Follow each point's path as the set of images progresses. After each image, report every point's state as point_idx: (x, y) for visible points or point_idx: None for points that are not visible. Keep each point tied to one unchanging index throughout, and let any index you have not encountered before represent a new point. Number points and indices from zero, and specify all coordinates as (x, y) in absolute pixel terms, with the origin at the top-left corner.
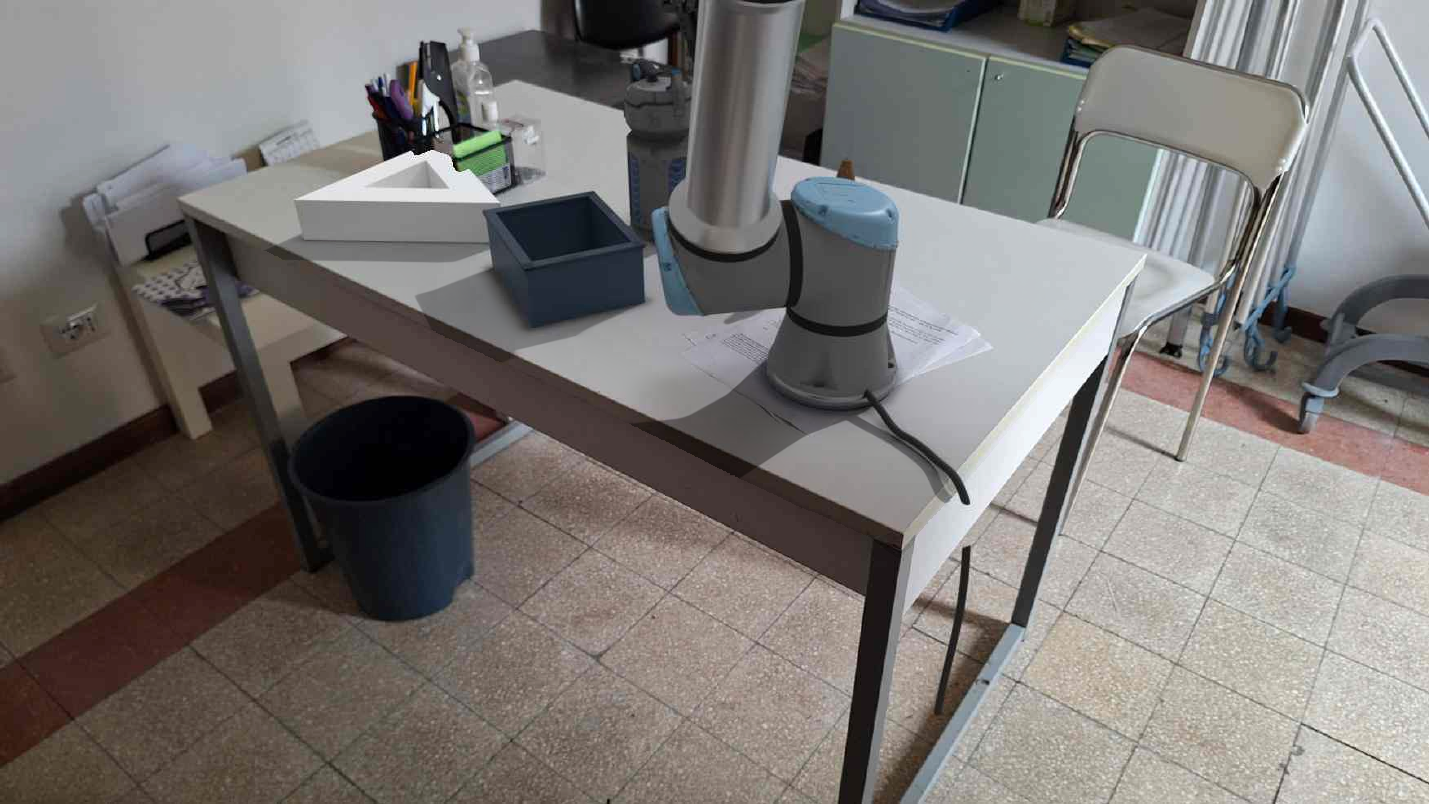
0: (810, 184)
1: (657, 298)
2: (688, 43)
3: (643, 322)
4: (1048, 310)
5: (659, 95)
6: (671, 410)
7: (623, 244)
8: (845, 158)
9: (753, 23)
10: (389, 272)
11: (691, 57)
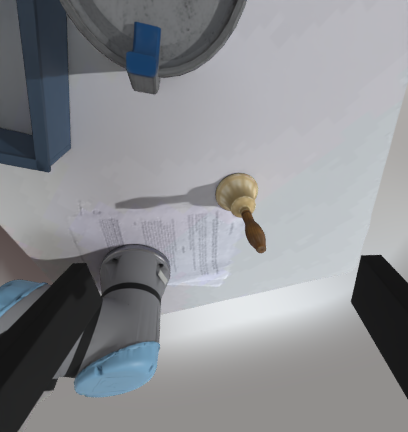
0: (96, 379)
1: (84, 149)
2: (38, 303)
3: (57, 172)
4: (269, 280)
5: (99, 50)
6: (37, 253)
7: (23, 159)
8: (261, 248)
9: None
10: None
11: (64, 273)
